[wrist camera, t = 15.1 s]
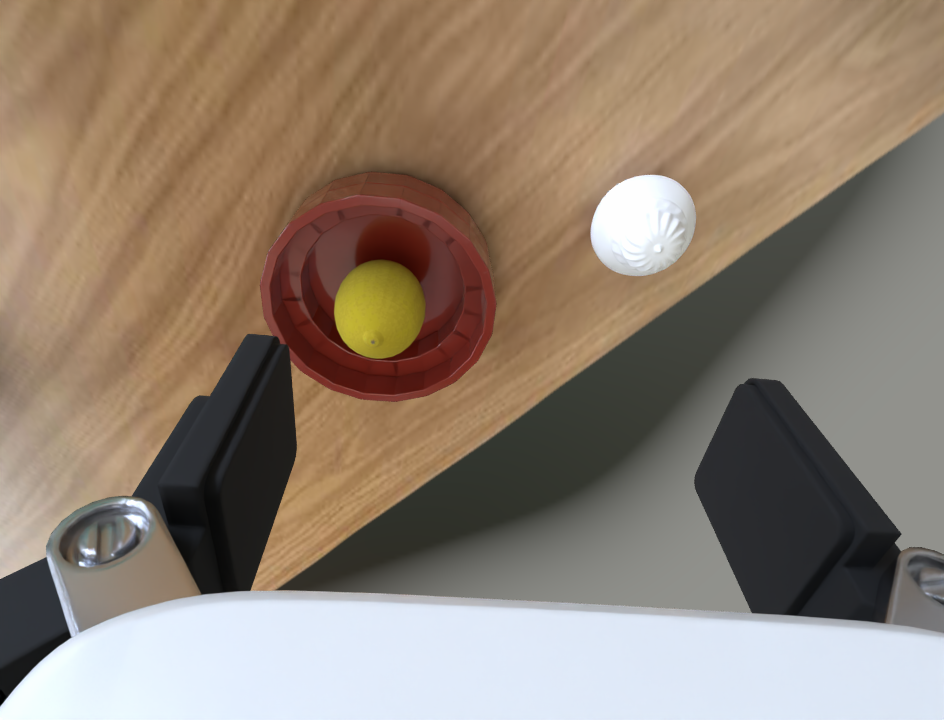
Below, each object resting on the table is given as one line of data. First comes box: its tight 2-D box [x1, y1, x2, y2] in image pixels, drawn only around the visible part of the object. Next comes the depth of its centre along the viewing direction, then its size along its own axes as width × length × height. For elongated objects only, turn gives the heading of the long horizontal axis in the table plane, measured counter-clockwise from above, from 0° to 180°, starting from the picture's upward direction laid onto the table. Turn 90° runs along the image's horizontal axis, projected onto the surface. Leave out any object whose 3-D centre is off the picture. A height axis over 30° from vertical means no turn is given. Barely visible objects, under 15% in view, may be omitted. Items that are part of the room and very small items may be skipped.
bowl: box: [260, 172, 496, 402], centre depth 37 cm, size 14×14×5 cm
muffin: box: [591, 175, 696, 276], centre depth 34 cm, size 6×6×7 cm
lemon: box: [334, 259, 426, 359], centre depth 35 cm, size 6×6×8 cm
